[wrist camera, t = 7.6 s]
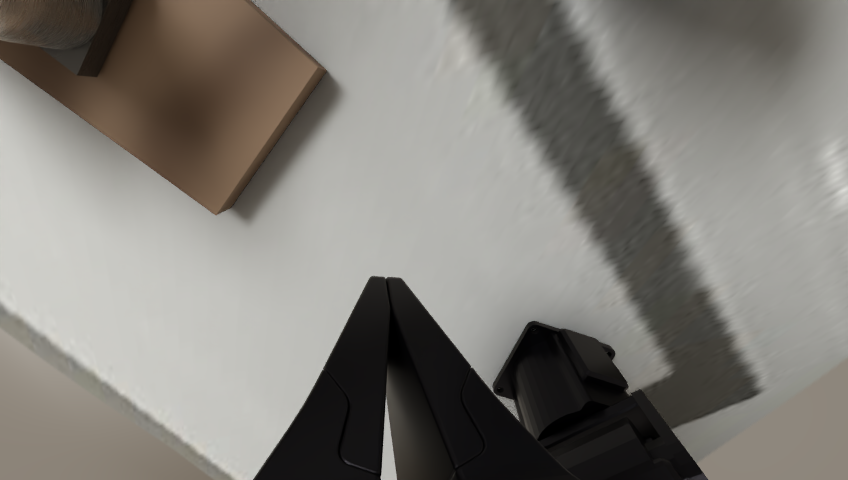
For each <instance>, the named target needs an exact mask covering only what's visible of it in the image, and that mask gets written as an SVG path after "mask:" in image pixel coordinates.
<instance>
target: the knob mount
mask: <svg viewBox="0 0 848 480" xmlns="http://www.w3.org/2000/svg"><path fill="white" fill-rule="evenodd" d="M0 59H1V60H3V61H4V62H5V63H7V64H8V65H9V66H11V67H12V68H14V69H15V70H16V71H18V72H19V73H21V74H22V75H23V76H25V77H26V78H27V79H29V80H30V81H32V82H33V83H34V84H36V85H37V86H38V87H40V88H41V89H43V90H44V91H45V92H47V93H48V94H49V95H51V96H52V97H54V98H55V99H56V100H58V101H59V102H60V103H62V104H63V105H65V106H66V107H67V108H69V109H70V110H71V111H73V112H74V113H76V114H77V115H78V116H80V117H81V118H83V119H84V120H85V121H87V122H88V123H89V124H91V125H92V126H94V127H95V128H96V129H98V130H99V131H100V132H102V133H103V134H105V135H106V136H107V137H109V138H110V139H111V140H113V141H114V142H116V143H117V144H118V145H120V146H121V147H122V148H124V149H125V150H127V151H128V152H129V153H131V154H132V155H134V156H135V157H136V158H138V159H139V160H140V161H142V162H143V163H145V164H146V165H147V166H149V167H150V168H151V169H153V170H154V171H156V172H157V173H158V174H160V175H161V176H162V177H164V178H165V179H167V180H168V181H169V182H171V183H172V184H173V185H175V186H176V187H178V188H179V189H180V190H182V191H183V192H185V193H186V194H187V195H189V196H190V197H191V198H193V199H194V200H196V201H197V202H198V203H200V204H201V205H202V206H204V207H205V208H207V209H208V210H209V211H211V212H212V213H213V214H215V215H217V214H219V213H221V212H223V211H226V210H228V209H230V208H231V207H232V205H233V204H234V203H235V201H236V200H237V198H238V197H239V195H240V194H241V193H242V191H243V190H244V188H245V187H246V185H247V184H248V183H249V181H250V180H251V178H252V177H253V175H254V174H255V173H256V171H257V170H258V168H259V167H260V165H261V164H262V163H263V161H264V160H265V158H266V157H267V155H268V154H269V153H270V151H271V150H272V148H273V147H274V145H275V144H276V143H277V141H278V140H279V138H280V137H281V135H282V134H283V133H284V131H285V130H286V128H287V127H288V125H289V124H290V123H291V121H292V120H293V118H294V117H295V115H296V114H297V113H298V111H299V110H300V108H301V107H302V105H303V104H304V103H305V101H306V100H307V98H308V97H309V95H310V94H311V93H312V91H313V90H314V88H315V87H316V85H317V84H318V83H319V81H320V80H321V78H322V77H323V75H324V74H325V73H326V71H327V70H326V69H325V68H324V67H323V66H322V65H320V64H319V63H318V62H317V61H316V60H315V59H314V58H313V57H312V56H311V55H309V54H308V53H307V52H306V51H305V50H304V49H303V48H302V47H301V46H300V45H299V44H297V43H296V42H295V41H294V40H293V39H292V38H291V37H290V36H289V35H288V34H286V33H285V32H284V31H283V30H282V29H281V28H280V27H279V26H278V25H277V24H276V23H274V22H273V21H272V20H271V19H270V18H269V17H268V16H267V15H266V14H265V13H264V12H262V11H261V10H260V9H259V8H258V7H257V6H256V5H255V4H254V3H253V2H251V1H250V0H133V2H132V4H131V6H130V8H129V10H128V13H127V15H126V17H125V19H124V21H123V23H122V25H121V28H120V30H119V32H118V34H117V36H116V38H115V40H114V42H113V45H112V47H111V49H110V51H109V53H108V55H107V57H106V60H105V62H104V64H103V66H102V68H101V70H100V72H99V74H98V77H89V76H78V75H76V74H74V73H73V72H72V71H70V70H69V69H68V68H66V67H65V66H64V65H62V64H61V63H60V62H58V61H57V60H56V59H54V58H53V57H52V56H50V55H49V54H48V53H46V52H45V51H44V50H42V49H41V48H40V47H38V46H33V45H27V44H20V43H14V42H8V41H1V40H0Z"/></svg>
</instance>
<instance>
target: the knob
mask: <svg viewBox="0 0 848 480" xmlns="http://www.w3.org/2000/svg"><path fill="white" fill-rule="evenodd" d="M132 2H133V0H0V40H1V41H8V42H14V43H20V44H27V45H33V46H38V47H40V48H41V49H42V50H44V51H45V52H46V53H48V54H49V55H50V56H52V57H53V58H54V59H56V60H57V61H58V62H60V63H61V64H62V65H64V66H65V67H66V68H68V69H69V70H70V71H72V72H73V73H74V74H76V75H78V76H89V77H98V74H99V72H100V70H101V68H102V66H103V64H104V62H105V60H106V57H107V55H108V53H109V51H110V49H111V47H112V45H113V42H114V40H115V38H116V36H117V34H118V32H119V30H120V28H121V25H122V23H123V21H124V19H125V17H126V15H127V13H128V10H129V8H130V6H131V4H132Z"/></svg>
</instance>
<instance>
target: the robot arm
mask: <svg viewBox="0 0 848 480" xmlns="http://www.w3.org/2000/svg"><path fill="white" fill-rule="evenodd" d="M533 328H537V329H536V330H534V331H533V330H532V329H533ZM606 352H608V353H606ZM614 356H615V351H614V350H613V349H612V347H611V346H609V345H606V344H603V343H600V342H598V341H597V339H595V338H592V337H589V336H586V335H583V334H580V333H577V332H574V331H570V330H567V329H558V328H555V327H552V326H549V325H546V324H542V323H539V322H536V321H532V322H529V323H528V324H527V325H526V327H525V329H524V330H523V332H522V334H521V336H520V338H519V339H518V341H517V343H516V345H515V346H514V348H513V350H512V352H511V353H510V355H509V357H508V359H507V360H506V362H505V364H504V366H503V367H502V369H501V371H500V373H499V375H498V376H497V378H496V380H495V382H494V383H493V390H494V393H495V394H496V395H499V396H502V397H506V398H509V399H512V400H514V402H515V406H516V410H517V413H518V417H519V420H520V422H519V421H518V420H517V419H516V417H515V416H514V415H513V414H512V413H511V412H510V411H509V410H508V409H507V408H506V407H505V406H504V405H503V403H502V402H501V401H500V400H499V399H498V398H497V397H496V396H495V395H494V393H493V392H492V391H491V390H490V389H489V387H488V386H487V385H486V384H485V383H484V381H483V380H482V379H481V378H480V377H479V375H478V374H477V373H476V371H475V370H474V369H473V368H471V365H470V364H469V363H468V362H467V360H466V359H465V358H464V357H463V355H462V354H461V353H460V351H459V350H458V349H457V348H456V346H455V345H454V344H453V343H452V341H451V340H450V339H449V338H448V336H447V335H446V334H445V333H444V331H443V330H442V329H441V327H440V326H439V325H438V324H437V322H436V321H435V320H434V319H433V317H432V316H431V315H430V314H429V312H428V311H427V310H426V309H425V307H424V306H423V305H422V304H421V302H420V301H419V300H418V298H417V297H416V296H415V295H414V293H413V292H412V291H411V290H410V288H409V287H408V286H407V285H406V283H405V282H404V281H403V280H402V279H401V278H397V277H387V278H386V279H385V277H378V276H371V277H370V278H369V280H368V282H367V284H366V286H365V288H364V290H363V292H362V294H361V296H360V298H359V300H358V301H357V303H356V305H355V307H354V309H353V311H352V313H351V315H350V317H349V319H348V321H347V323H346V325H345V327H344V329H343V331H342V333H341V335H340V337H339V339H338V341H337V343H336V345H335V346H334V348H333V350H332V352H331V354H330V356H329V358H328V360H327V362H326V364H325V366H324V368H323V370H322V372H321V373H320V375H319V377H318V379H317V381H316V383H315V385H314V387H313V389H312V390H311V392H310V394H309V396H308V398H307V399H306V401H305V403H304V405H303V406H302V408H301V409H300V411H299V413H298V414H297V416H296V417H295V419H294V420H293V422H292V423H291V425H290V427H289V428H288V430H287V431H286V432H285V434H284V435H283V437H282V438H281V440H280V441H279V443H278V444H277V446H276V447H275V448H274V450H273V451H272V453H271V454H270V456H269V457H268V459H267V460H266V462H265V463H264V464H263V466H262V467H261V469H260V470H259V472H258V473H257V475H256V476H255V478H254V479H253V480H381V478H380V477H381V469H382V452H383V435H384V418H385V401H386V397H387V405H388V413H389V420H390V428H391V436H392V443H393V451H394V459H395V466H396V474H397V480H708V479H707V477H706V476H705V475H704V473H703V472H702V471H701V469H700V468H699V467H698V465H697V464H696V462H695V461H694V460H693V458H692V457H691V456H690V454H689V453H688V452H687V450H686V449H685V448H684V446H683V445H682V444H681V442H680V441H679V440H678V438H677V437H676V436H675V434H674V433H673V432H672V430H671V429H670V428H669V426H668V425H667V424H666V422H665V421H664V420H663V418H662V417H661V416H660V414H659V413H658V412H657V410H656V409H655V408H654V406H653V405H652V404H651V402H650V401H649V400H648V398H647V397H646V396H645V394H644V393H643V392H642V390H641V389H640V390H638V391H635V392H633V393H631V394H632V396H630V397H629V395H628V394H627V392H626V390H627V388H628V384H627V381H626V380H625V379H624V377H623V376H622V374H621V373H620V371H619V370H618V369H617V367H616V366H615V364H614V363H613V362H612V359H613V358H614ZM500 387H501V388H500ZM499 388H500V389H499Z"/></svg>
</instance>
